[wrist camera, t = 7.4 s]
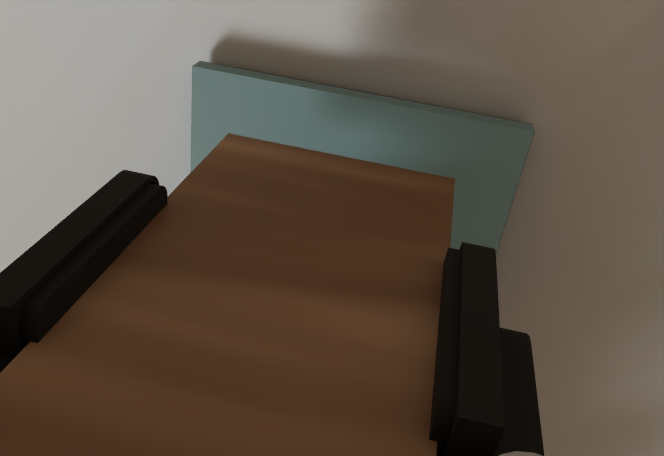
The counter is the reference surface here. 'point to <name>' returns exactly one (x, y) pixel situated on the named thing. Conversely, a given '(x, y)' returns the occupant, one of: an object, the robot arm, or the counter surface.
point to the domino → (251, 319)
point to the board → (370, 137)
